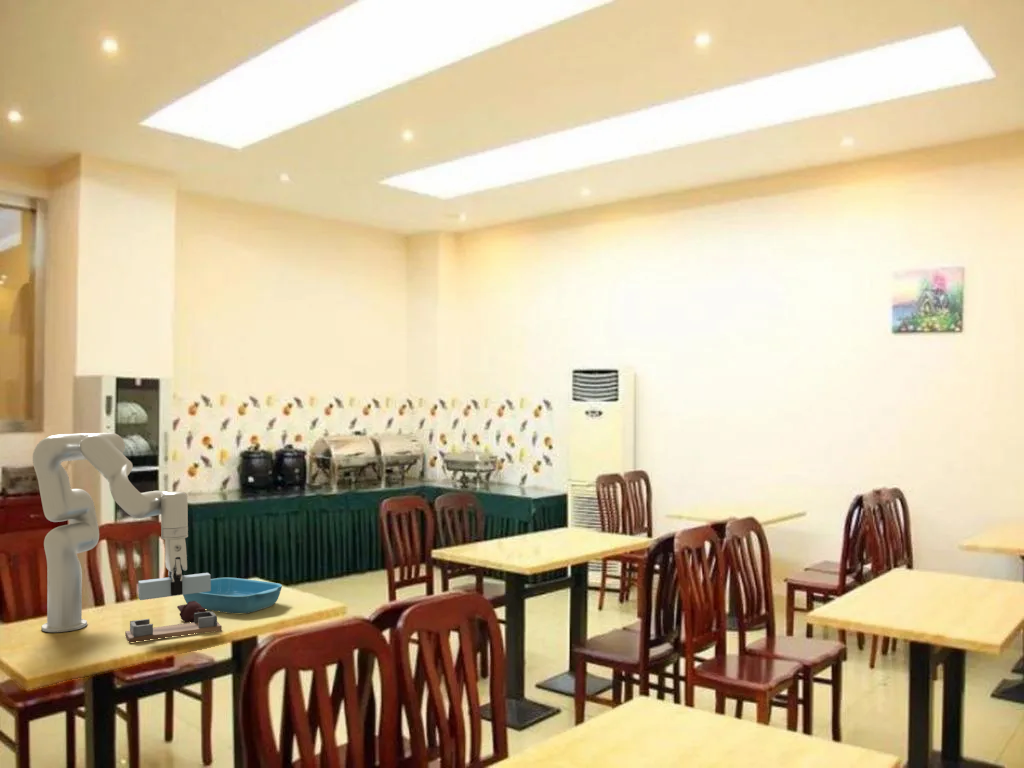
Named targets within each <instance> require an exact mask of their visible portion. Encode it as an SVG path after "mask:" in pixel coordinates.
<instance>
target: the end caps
mask: <svg viewBox="0 0 1024 768" xmlns="http://www.w3.org/2000/svg"><path fill="white" fill-rule="evenodd" d="M217 622H218V616H217V614H215V612H214V611H211V610H206V612H199V613H194V623H198V628H206V627H213V626H217ZM153 628H154V623H151V622H150V618H144V619H137V620H130V621H129V631H130V632H131V634H132V636H133V637H139V636H147V635H153Z"/></svg>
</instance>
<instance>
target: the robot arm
mask: <svg viewBox="0 0 1024 768" xmlns="http://www.w3.org/2000/svg"><path fill="white" fill-rule="evenodd" d="M125 446H126V445H125V441H124V439H123V437H122V436H120V435H119V434H117V433H115V432H97V433H95V432H93V433H92V432H91V433H89V432H88V433H86V432H85V433H84V432H82V433H64V434H63V433H60V434H55V435H54V434H53V435H49V436H47V437H44V438H43V439H41V440H40V441H39V442H38V443H37V444H36V445H35V447H34V450H33V453H32V464H33V467H34V471H35V474H36V478H37V483H38V489H39V495H40V498H41V505H42V510H43V511H42V512H43V514H44V517H45V518H46V520H48V521H50V522H53V523H58V522H59V523H60V522H66V521H68V522H69V523H68V524H64V525H59V526H57V527H54V528H53V529H51V530H50V531H48V533H46V535H45V537H44V540H43V547H44V548H43V549H44V552H45V553H44V554H45V558H46V567H47V569H46V571H47V577H46V579H47V586H46V587H47V595H46V597H47V598H46V599H47V601H46V602H47V604H46V608H47V610H46V611H47V612H46V615H47V616H46V620H47V621H46V622H45V623H44V624H42V625H41V631H43V632H46V633H64V632H72V631H76V630H81V629H83V628H85V627H87V625H88V620H86V619H84V618H82V614H83V611H82V610H83V609H82V604H83V602H82V600H83V599H82V598H83V595H82V594H83V592H82V591H83V581H82V580H83V573H82V572H83V567H82V564H81V561H80V559H79V556H78V554H80V553H85V552H88V551H91V550H93V549H94V548H95V547H96V546H97V545H98V543H99V539H100V529H99V524H98V517H97V512H96V507H95V502H94V500H93V498H92V496H91V494H90V493H89V492H88V491H86V490H84V489H82V488H71V484H70V483H71V482H70V477H69V474H68V472H67V470H66V469H65V467H64V466H63V465H62V463H63V462H71V461H80V460H81V461H82V460H86V461H87V462H89V463H90V465H91V466H93V468H94V469H96V471H98V472H99V473H100V474H101V475H102V477H104V478H105V479H106V480H107V482H108V483H109V485H108V486H109V491H110V493H111V496H112V499H113V500H114V501H115V503H116V504H117V505H118V506H119V508H121V509H122V510H123V511H124V512H125V513H126V514H128V515H129V516H130V517H132V518H135V519H138V520H139V519H145V518H149V517H155V516H160V521H161V522H160V523H161V525H160V527H161V528H160V529H161V530H160V531H161V533H160V534H161V535H160V536H161V540H164V557H165V558H164V561H165V563H164V564H165V568H166V569H167V571H168V574H167V575H168V577H172V582H171V595H172V596H171V597H175V596H174V595H177V596H182V595H181V594H182V576H183V574H182V570H183V571H184V572H185V571H187V570H188V560H187V559H188V558H187V557H188V555H187V544H186V539H187V538H188V537H189V532H188V531H189V526H188V523H189V521H188V517H189V516H188V514H189V513H188V511H189V508H188V507H189V506H188V495H187V493H186V492H184V491H166V490H165V491H163V490H153V491H152V490H151V491H145V492H140V491H139V490H138V489H137V488H136V487H135V486H134V485H133V484H132V482H131V481H130V480H129V477H128V476H129V475H130V473H131V472H132V470H133V468H134V467H133V462H132V461H131V460H129V458H128V457H126V456H125V454H124V452H125V449H126V447H125Z"/></svg>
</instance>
